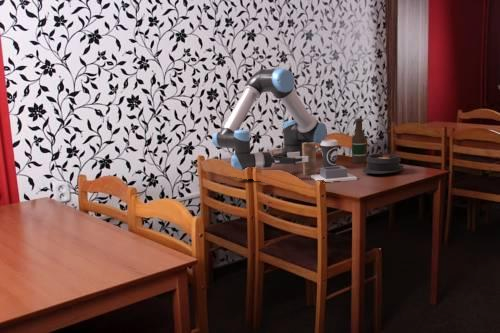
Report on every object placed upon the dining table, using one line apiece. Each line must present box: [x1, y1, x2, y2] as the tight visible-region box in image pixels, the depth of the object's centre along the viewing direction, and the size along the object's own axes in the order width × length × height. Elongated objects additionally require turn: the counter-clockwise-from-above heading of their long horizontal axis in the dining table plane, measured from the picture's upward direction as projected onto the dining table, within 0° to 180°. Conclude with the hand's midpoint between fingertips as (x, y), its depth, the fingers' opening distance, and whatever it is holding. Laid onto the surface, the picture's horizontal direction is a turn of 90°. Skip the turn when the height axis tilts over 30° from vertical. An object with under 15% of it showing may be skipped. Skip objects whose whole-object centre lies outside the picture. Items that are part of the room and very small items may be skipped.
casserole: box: [362, 152, 405, 175], centre depth 271 cm, size 25×19×8 cm
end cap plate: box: [310, 165, 358, 183], centre depth 262 cm, size 18×14×5 cm
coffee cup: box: [319, 139, 340, 167], centre depth 284 cm, size 10×10×15 cm
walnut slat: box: [302, 142, 317, 176], centre depth 274 cm, size 6×3×16 cm, turn 102°
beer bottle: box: [351, 118, 367, 165], centre depth 297 cm, size 8×8×24 cm
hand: (303, 156), depth 272 cm, fingers open, 13 cm apart
